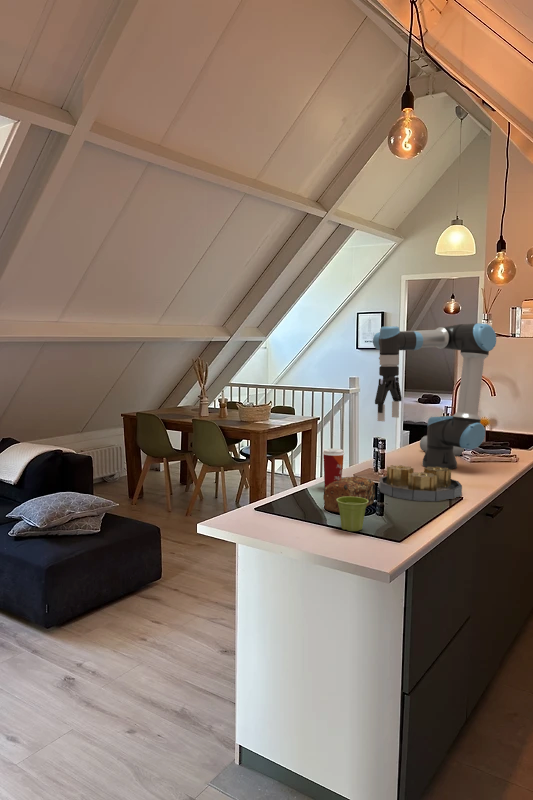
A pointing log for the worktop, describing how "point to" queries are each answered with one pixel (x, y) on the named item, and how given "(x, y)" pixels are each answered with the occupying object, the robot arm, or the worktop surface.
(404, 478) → the planet gear
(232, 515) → the worktop surface
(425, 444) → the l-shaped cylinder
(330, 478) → the coffee cup
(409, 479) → the seated gear
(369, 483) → the bread
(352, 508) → the plant pot
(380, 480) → the tray
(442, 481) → the seated gear
